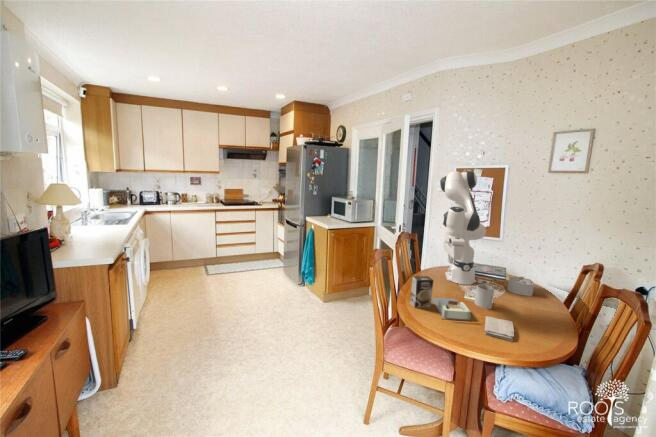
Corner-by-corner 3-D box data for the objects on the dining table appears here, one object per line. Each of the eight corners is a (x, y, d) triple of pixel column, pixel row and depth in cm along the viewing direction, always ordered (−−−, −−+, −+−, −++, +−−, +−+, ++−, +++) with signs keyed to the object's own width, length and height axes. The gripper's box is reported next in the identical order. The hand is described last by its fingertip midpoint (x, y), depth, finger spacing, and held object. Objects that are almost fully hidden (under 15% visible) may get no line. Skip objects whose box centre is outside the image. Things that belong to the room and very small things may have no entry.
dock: (430, 298, 177) (431, 290, 176) (455, 300, 176) (456, 292, 175) (442, 319, 153) (443, 310, 152) (471, 321, 152) (472, 312, 151)
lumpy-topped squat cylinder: (532, 297, 185) (534, 283, 184) (507, 292, 191) (509, 278, 190) (531, 291, 194) (533, 278, 193) (507, 286, 200) (509, 273, 199)
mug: (490, 311, 164) (492, 291, 163) (472, 306, 169) (475, 287, 167) (493, 303, 174) (496, 284, 172) (477, 299, 179) (479, 281, 177)
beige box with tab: (445, 310, 161) (446, 300, 160) (457, 311, 161) (458, 301, 160) (449, 316, 154) (450, 306, 153) (462, 317, 154) (463, 307, 153)
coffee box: (414, 309, 163) (417, 280, 160) (409, 304, 169) (412, 275, 166) (430, 309, 164) (433, 280, 161) (425, 303, 170) (428, 275, 168)
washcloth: (484, 336, 140) (484, 329, 140) (484, 319, 156) (484, 313, 156) (514, 343, 135) (515, 337, 135) (511, 325, 151) (512, 319, 151)
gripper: (441, 232, 175) (439, 256, 178) (453, 242, 155) (450, 268, 158) (453, 233, 175) (450, 257, 177) (466, 243, 155) (462, 269, 157)
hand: (450, 262), depth 167 cm, fingers closed
